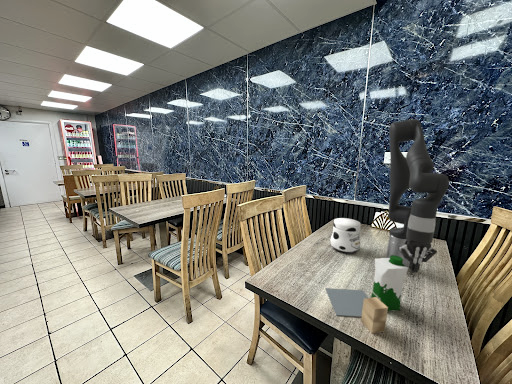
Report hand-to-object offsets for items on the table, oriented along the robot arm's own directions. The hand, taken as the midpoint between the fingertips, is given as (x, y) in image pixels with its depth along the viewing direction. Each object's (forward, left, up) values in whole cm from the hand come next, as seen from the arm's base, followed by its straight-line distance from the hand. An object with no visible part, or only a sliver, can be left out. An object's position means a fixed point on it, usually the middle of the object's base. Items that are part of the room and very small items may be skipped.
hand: (413, 271), depth 75 cm
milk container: (+7, -49, -15) cm, 52 cm away
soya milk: (+9, 0, -15) cm, 18 cm away
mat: (+22, 0, -15) cm, 26 cm away
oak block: (+19, +11, -15) cm, 26 cm away
